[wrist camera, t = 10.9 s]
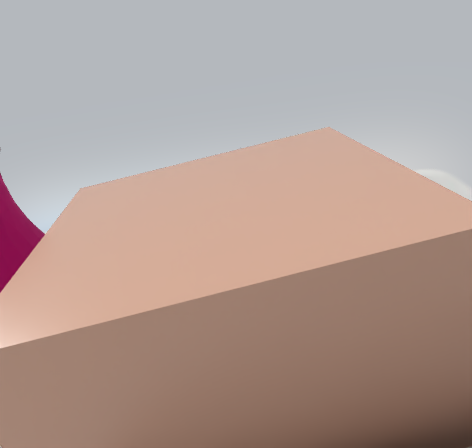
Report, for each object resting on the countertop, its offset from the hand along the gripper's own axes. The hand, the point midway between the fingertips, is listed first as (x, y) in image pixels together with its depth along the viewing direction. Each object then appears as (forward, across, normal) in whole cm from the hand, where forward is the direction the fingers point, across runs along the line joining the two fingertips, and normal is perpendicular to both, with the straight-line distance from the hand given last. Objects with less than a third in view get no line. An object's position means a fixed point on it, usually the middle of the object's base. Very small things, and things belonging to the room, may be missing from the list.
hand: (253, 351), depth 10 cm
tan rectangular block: (-1, 0, +6) cm, 6 cm away
